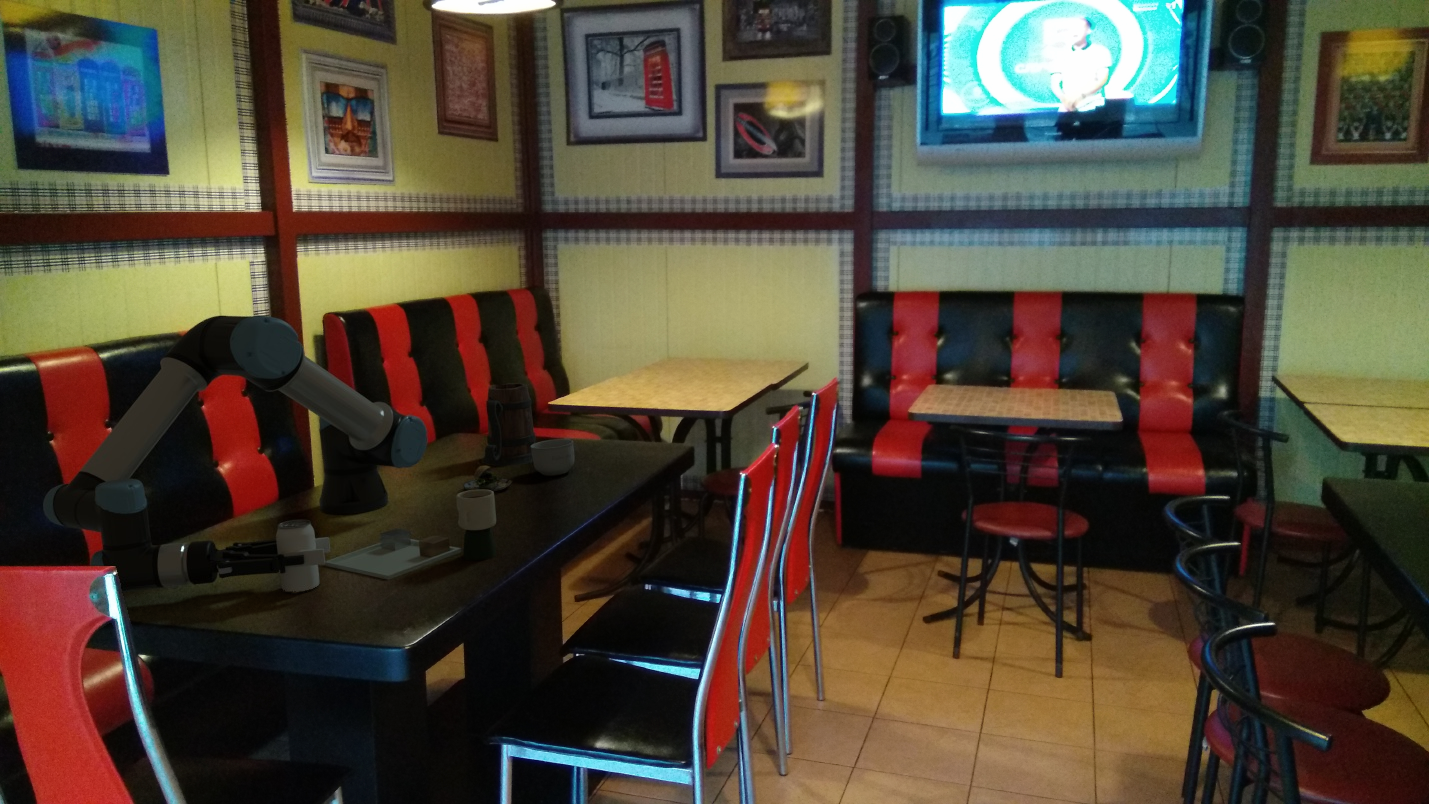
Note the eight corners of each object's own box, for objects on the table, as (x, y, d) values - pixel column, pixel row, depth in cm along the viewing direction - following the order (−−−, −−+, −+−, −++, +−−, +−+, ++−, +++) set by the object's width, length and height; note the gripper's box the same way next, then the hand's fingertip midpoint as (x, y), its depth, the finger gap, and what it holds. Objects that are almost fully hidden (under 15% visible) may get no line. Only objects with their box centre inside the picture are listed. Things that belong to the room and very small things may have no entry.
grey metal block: (381, 548, 219) (380, 533, 219) (397, 542, 222) (395, 528, 222) (395, 550, 217) (393, 536, 216) (410, 545, 220) (409, 530, 220)
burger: (478, 499, 258) (475, 468, 257) (453, 491, 267) (451, 461, 266) (522, 489, 266) (520, 459, 265) (497, 481, 275) (495, 452, 274)
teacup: (556, 480, 273) (554, 448, 272) (523, 475, 279) (521, 445, 277) (591, 467, 285) (589, 437, 283) (559, 464, 290) (557, 434, 289)
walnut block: (420, 555, 213) (418, 540, 213) (435, 550, 217) (434, 535, 216) (434, 558, 211) (433, 543, 211) (450, 552, 214) (448, 538, 214)
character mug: (476, 549, 218) (471, 486, 216) (509, 551, 216) (504, 487, 214) (449, 567, 208) (444, 500, 206) (484, 569, 206) (479, 502, 204)
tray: (324, 569, 210) (323, 561, 210) (398, 543, 225) (397, 536, 224) (388, 583, 200) (388, 575, 200) (461, 555, 215) (461, 548, 215)
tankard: (496, 451, 309) (491, 380, 306) (553, 451, 306) (548, 380, 302) (460, 471, 287) (453, 395, 283) (521, 471, 283) (515, 395, 280)
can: (307, 594, 196) (300, 529, 194) (274, 593, 197) (267, 528, 195) (326, 582, 202) (320, 519, 200) (295, 581, 203) (288, 518, 201)
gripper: (205, 567, 205) (335, 554, 210) (178, 602, 186) (321, 587, 191) (200, 528, 204) (331, 516, 208) (173, 559, 185) (317, 545, 190)
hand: (326, 550), depth 200 cm, fingers closed on can, 6 cm apart
